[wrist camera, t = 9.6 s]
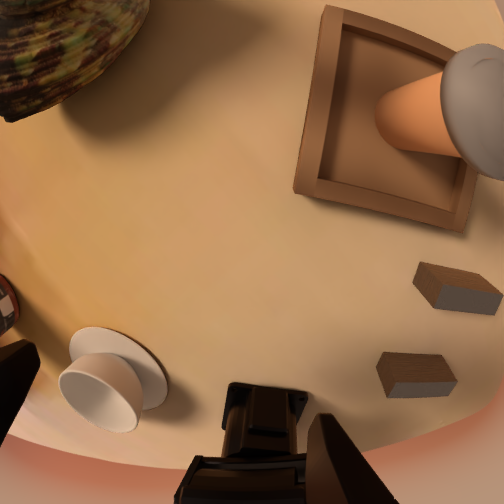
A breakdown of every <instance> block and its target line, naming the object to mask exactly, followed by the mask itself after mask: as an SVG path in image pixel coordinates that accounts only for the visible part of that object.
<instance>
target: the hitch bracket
mask: <svg viewBox="0 0 504 504" xmlns="http://www.w3.org/2000/svg"><path fill="white" fill-rule="evenodd" d="M413 284H414V285H415V287H416V288H417V289H418V290H419V291H420V292H421V294H422V295H423V296H424V297H425V298H426V300H427V301H428V302H429V303H430V305H431V306H432V307H433V308H435V309H443V310H451V311H460V312H468V313H477V314H486V315H495V313H496V311H497V309H498V307H499V305H500V302H501V300H502V298H503V294H502V293H501V292H500V291H499V290H497V289H496V288H495V287H494V286H493V285H491V284H490V283H489V282H488V281H487V280H485V279H484V278H483V277H482V276H481V275H479V274H476V273H472V272H467V271H462V270H458V269H453V268H448V267H444V266H439V265H434V264H429V263H424V262H420V263H419V266H418V269H417V272H416V274H415V277H414V280H413ZM376 369H377V372H378V374H379V377H380V380H381V383H382V385H383V388H384V391H385V394H386V397H387V398H422V397H442V396H448V395H449V394H450V392H451V391H452V390H453V388H454V386H455V385H456V383H457V382H458V381H457V379H456V378H455V376H454V374H453V373H452V371H451V369H450V368H449V366H448V365H447V363H446V361H445V360H444V358H443V357H442V355H427V354H406V353H390V352H383V354H382V356H381V358H380V360H379V362H378V364H377V366H376Z"/></svg>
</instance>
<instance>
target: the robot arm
mask: <svg viewBox="0 0 504 504" xmlns="http://www.w3.org/2000/svg"><path fill="white" fill-rule="evenodd" d="M40 364H41V362H40V358H39V355H38V351H37V348H36V345H35V344H34V342H32V341H30V340H27V339H22V340H19V341H17V342H14V343H12V344H9V345H6V346H4V347H1V348H0V447H1V445H2V443H3V441H4V438H5V437H6V434H7V433H8V431H9V429H10V427H11V425H12V423H13V421H14V419H15V417H16V416H17V414H18V412H19V410H20V408H21V406H22V405H23V403H24V401H25V399H26V396H27V394H28V392H29V390H30V387H31V385H32V383H33V381H34V379H35V376H36V374H37V372H38V370H39V368H40ZM234 388H236V389H234ZM300 397H303V398H300ZM307 401H308V394H307V393H306V392H301V391H292V390H283V389H275V388H268V387H261V386H254V385H247V384H241V383H235V382H233V383H230V384H229V386H228V391H227V397H226V403H225V409H224V415H223V421H222V429H223V430H226V431H225V437H224V443H223V449H222V455H221V457H203V456H200V455H195V457H194V459H193V461H192V463H191V464H190V466H189V468H188V470H187V472H186V474H185V476H184V478H183V480H182V482H181V484H180V486H179V487H178V489H177V491H176V494H175V495H174V504H399V503H398V501H397V500H396V499H394V496H393V495H392V494H391V493H390V491H389V490H388V489H387V487H386V486H385V485H384V483H383V482H382V481H381V479H380V478H379V477H378V475H377V474H376V473H375V471H374V470H373V469H372V467H371V466H370V465H369V464H368V462H367V461H366V459H365V458H364V457H363V455H362V454H361V453H360V451H359V450H358V449H357V447H356V446H355V445H354V443H353V442H352V440H351V439H350V438H349V436H348V435H347V434H346V432H345V431H344V430H343V428H342V427H341V425H340V424H339V423H338V421H337V420H336V418H335V417H334V416H333V415H332V414H331V413H318V414H317V415H316V416H315V418H314V420H313V422H312V424H311V426H310V428H309V431H308V442H307V453H302V454H297V432H296V425H297V423H298V421H299V419H300V417H301V414H302V412H303V410H304V408H305V405H306V403H307Z"/></svg>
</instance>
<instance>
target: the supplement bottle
mask: <svg viewBox="0 0 504 504" xmlns="http://www.w3.org/2000/svg"><path fill="white" fill-rule="evenodd" d="M18 318H19V307H18V303H17V299H16V296H15V294H14V292H13V290H12V288H11V286H10V285H9V283H8V282H7V281H6V280H5V279H4V278H3V277H2V276H1V275H0V337H1V336H2V335H3V334H4V333H5V332H6V331H8V330H9V329H10V328H11V327H12V326H13V325H14V324H15V323H16V322H17V320H18Z"/></svg>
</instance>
